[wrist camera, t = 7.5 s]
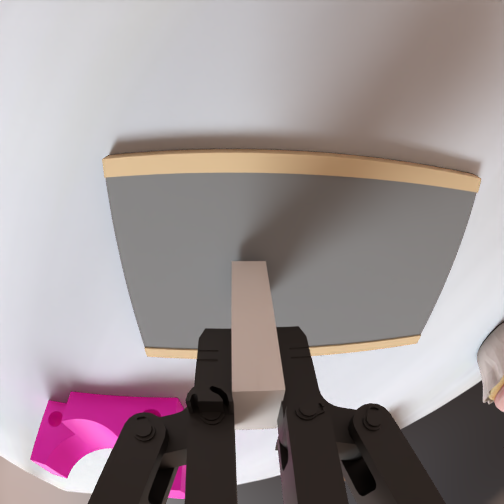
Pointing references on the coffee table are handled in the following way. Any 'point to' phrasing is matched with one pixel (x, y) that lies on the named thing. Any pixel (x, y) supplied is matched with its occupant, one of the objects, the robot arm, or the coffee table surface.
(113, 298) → the coffee table surface
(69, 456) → the toy block
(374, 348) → the mat
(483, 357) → the cupcake
